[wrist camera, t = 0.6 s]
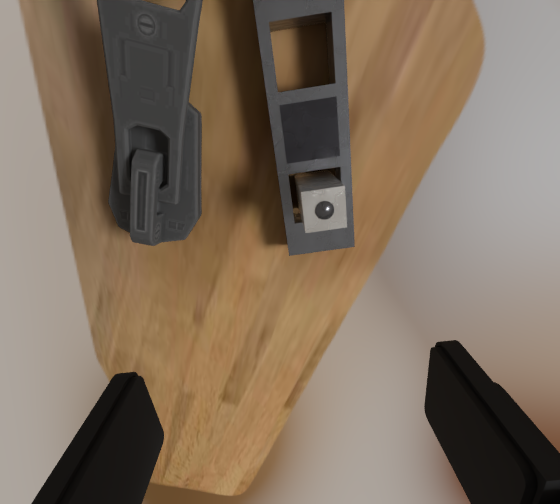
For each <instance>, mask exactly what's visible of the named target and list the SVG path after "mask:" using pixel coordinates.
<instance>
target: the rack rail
mask: <svg viewBox="0 0 560 504" xmlns="http://www.w3.org/2000/svg"><path fill="white" fill-rule="evenodd" d="M253 4H254V11H255V18H256V25H257V32H258V39H259V46H260V53H261V60H262V67H263V74H264V81H265V88H266V95H267V102H268V109H269V116H270V123H271V130H272V137H273V144H274V151H275V159H276V166H277V173H278V180H279V187H280V194H281V201H282V208H283V215H284V222H285V229H286V236H287V243H288V250H289V256H290V255H298V254H305V253H312V252H320V251H327V250H334V249H341V248H349V247H355V246H354V223H353V200H352V177H351V154H350V131H349V108H348V85H347V62H346V38H345V15H344V0H253ZM320 23H326V38H327V54H328V69H329V84H328V85H322V86H316V87H310V88H303V89H297V90H291V91H284V92H278V90H277V82H276V74H275V66H274V59H273V51H272V43H271V35H270V32H272V31H278V30H284V29H290V28H296V27H302V26H308V25H314V24H320ZM328 168H335V177H336V178H337V179H338V180H339V181H340V182H341V183H343V184H344V185H345V197H346V215H347V227H346V228H339V229H332V230H325V231H318V232H311V233H305V230H304V226H303V223H302V219H301V216H300V214H296V215H293V207H292V199H291V191H290V184H289V176H288V174H295V173H301V172H308V171H315V170H322V169H328Z"/></svg>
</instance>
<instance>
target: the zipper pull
mask: <svg viewBox="0 0 560 504" xmlns="http://www.w3.org/2000/svg"><path fill="white" fill-rule="evenodd" d="M202 1H203V0H186V2H185V4H184V5H183V6H182V8H181V9H180V10H175V9H171V8H168V7H164V6H160V5H157V4H153V3H149V2H146V1H142V0H97V5H98V12H99V20H100V27H101V34H102V41H103V48H104V55H105V62H106V69H107V76H108V84H109V91H110V98H111V105H112V112H113V119H114V132H115V153H114V162H113V171H112V179H111V186H110V194H109V201H108V203H109V205H110V208H111V210H112V212H113V215H114V217H115V219H116V222H117V224H118V226H119V227H120V228H122V229H124V230H126V231H128V232H130V237H131V240H132V242H135V243H140V244H146V245H151V246H155V245H157V244H159V243H161V242H168V241H177V240H185V239H186V238H187V236H188V235H189V233H190V232H191V230H192V229H193V227H194V226H195V224H196V222H197V221H198V219H199V218H200V216H201V213H202V210H201V142H202V122H201V113H200V112H199V111H198V110H197V109H196V108H195V107H193V106H192V105H191V104H190V103H189V94H190V87H191V79H192V72H193V64H194V57H195V49H196V42H197V34H198V27H199V20H200V14H201V8H202Z"/></svg>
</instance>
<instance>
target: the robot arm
mask: <svg viewBox="0 0 560 504" xmlns="http://www.w3.org/2000/svg"><path fill="white" fill-rule="evenodd" d="M425 414H426V417H427V419H428V421H429V423H430V425H431V427H432V429H433V431H434V433H435V435H436V437H437V439H438V441H439V443H440V444H441V447H442V448H443V450H444V452H445V454H446V456H447V458H448V460H449V462H450V464H451V466H452V468H453V470H454V471H455V474H456V476H457V478H458V480H459V481H460V483H461V485H462V487H463V489H464V491H465V493H466V495H467V497H468V499H469V501H470V503H471V504H560V453H559V452H558V451H557V450H556V448H555V447H554V446H553V445H552V444H551V443H550V442H549V440H548V439H547V438H546V437H545V436H544V435H543V434H542V432H541V431H540V430H539V429H538V428H537V427H536V425H535V424H534V423H533V422H532V421H531V420H530V418H529V417H528V416H527V415H526V414H525V413H524V412H523V411H522V409H521V408H520V407H519V406H518V405H517V403H515V402H514V400H513V399H512V398H511V396H510V395H509V394H508V393H507V392H506V391H505V390H504V389H503V388H502V387H501V386H500V385H499V384H497V383H495V382H493V381H492V380H491V379H490V378H489V376H487V374H486V373H485V372H484V371H483V369H482V368H481V367H480V366H479V365H478V363H476V361H475V360H474V359H473V358H472V356H471V355H470V354H469V353H468V352H467V350H466V349H465V348H464V347H463V346H462V345H461V344H460V343H459V342H458V341H456V340H453V341H443V342H437V343H436V345H435V347H433V348H431V350H430V360H429V368H428V378H427V388H426V397H425ZM163 440H164V432H163V429H162V426H161V424H160V421H159V418H158V416H157V413H156V411H155V408H154V405H153V403H152V400H151V398H150V395H149V392H148V390H147V387H146V385H145V382H144V379H143V378H142V377H141V376H138V374H137V373H136V372H129V373H119V374H116V375H114V377H113V378H112V379H111V381H110V383H109V384H108V386H107V387H106V389H105V391H104V392H103V393H102V395H101V397H100V398H99V400H98V401H97V403H96V405H95V406H94V408H93V409H92V410H91V412H90V414H89V415H88V417H87V418H86V420H85V421H84V423H83V425H82V426H81V428H80V429H79V431H78V432H77V434H76V435H75V437H74V438H73V440H72V442H71V443H70V445H69V446H68V448H67V449H66V451H65V452H64V454H63V456H62V457H61V459H60V460H59V462H58V463H57V465H56V466H55V468H54V469H53V471H52V473H51V474H50V476H49V477H48V479H47V480H46V482H45V483H44V485H43V487H42V488H41V490H40V491H39V493H38V494H37V496H36V497H35V499H34V501H33V502H32V504H142V501H143V498H144V496H145V493H146V490H147V487H148V484H149V481H150V479H151V476H152V473H153V470H154V467H155V464H156V462H157V459H158V456H159V453H160V450H161V447H162V445H163Z"/></svg>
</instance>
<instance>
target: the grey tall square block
mask: <svg viewBox="0 0 560 504" xmlns="http://www.w3.org/2000/svg"><path fill="white" fill-rule="evenodd" d="M294 176H295V184H296V193H297V201H298V209H299V212H300V216H301V219H302V223H303V226H304V230H305V233H311V232H318V231H325V230H332V229H339V228H346V227H347V215H346V197H345V185H344V184H343V183H341V182H340V181H339V180H338V179H337V178H336V177H335V176H334V175H333V174H332V173H331V172H330V171H329V170H326V171H319V172H313V173H306V174H299V175H294Z"/></svg>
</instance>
